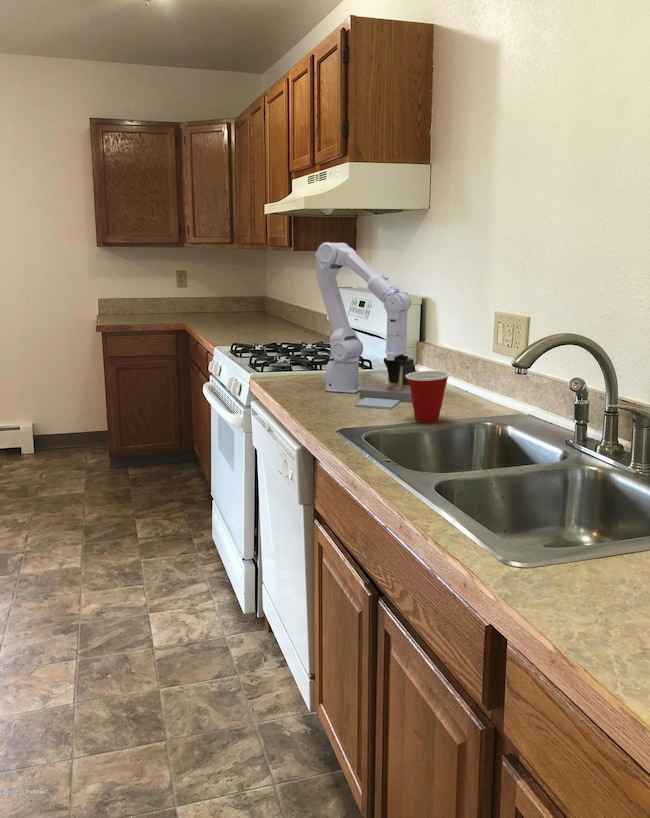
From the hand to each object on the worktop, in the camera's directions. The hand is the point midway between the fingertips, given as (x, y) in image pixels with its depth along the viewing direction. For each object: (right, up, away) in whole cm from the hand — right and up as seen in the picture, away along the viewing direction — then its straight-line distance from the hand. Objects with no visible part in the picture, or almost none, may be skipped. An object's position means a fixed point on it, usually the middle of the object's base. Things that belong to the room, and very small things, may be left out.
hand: (395, 381), depth 207 cm
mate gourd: (+5, 0, +22) cm, 23 cm away
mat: (-6, -7, -10) cm, 13 cm away
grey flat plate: (0, -4, +1) cm, 4 cm away
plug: (0, -3, +1) cm, 3 cm away
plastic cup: (+5, -11, -27) cm, 30 cm away
